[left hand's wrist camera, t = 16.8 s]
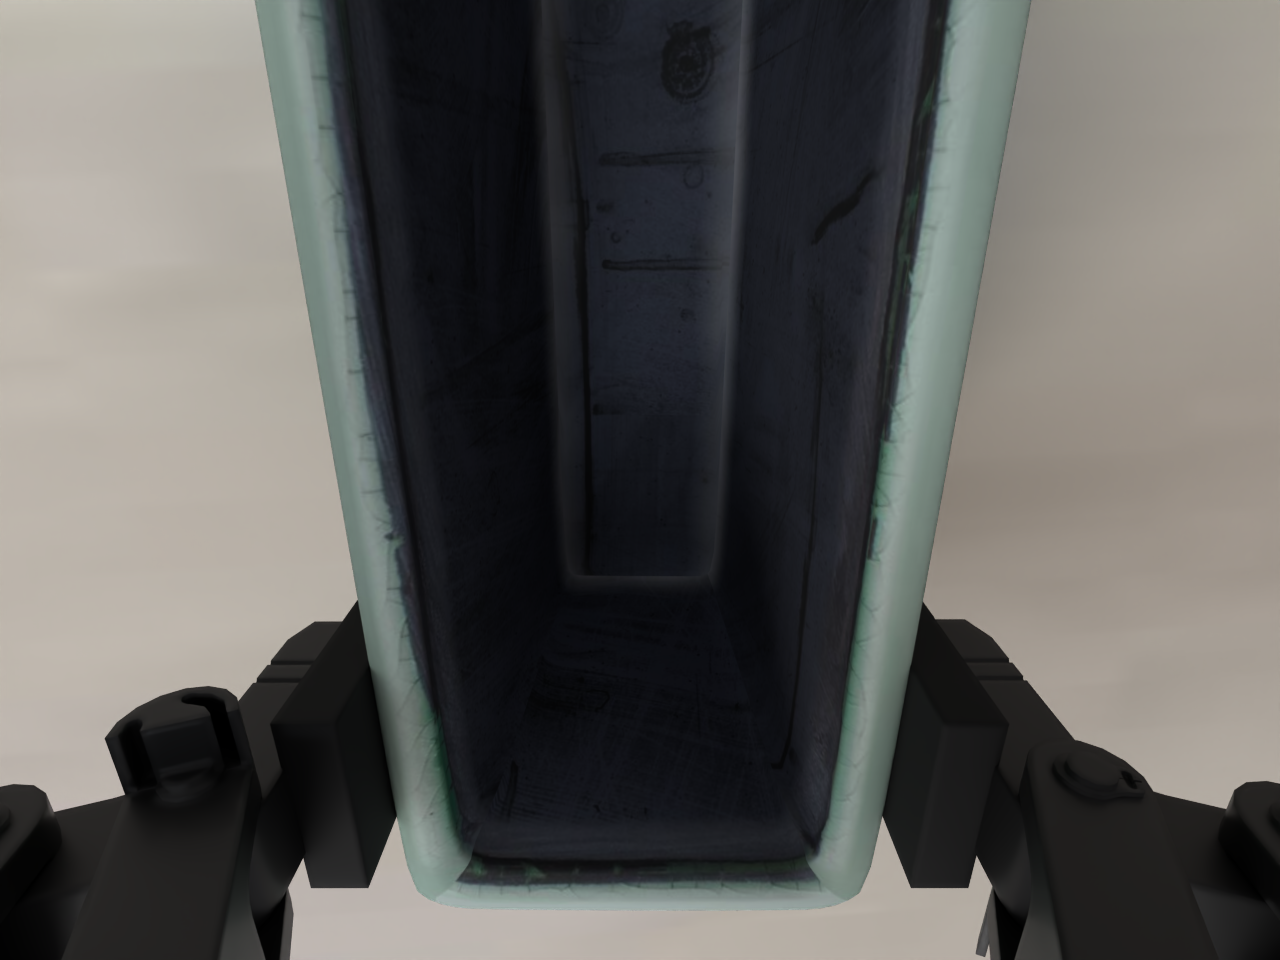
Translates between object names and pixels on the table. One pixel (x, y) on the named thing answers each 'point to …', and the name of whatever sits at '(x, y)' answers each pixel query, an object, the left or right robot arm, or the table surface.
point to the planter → (641, 413)
